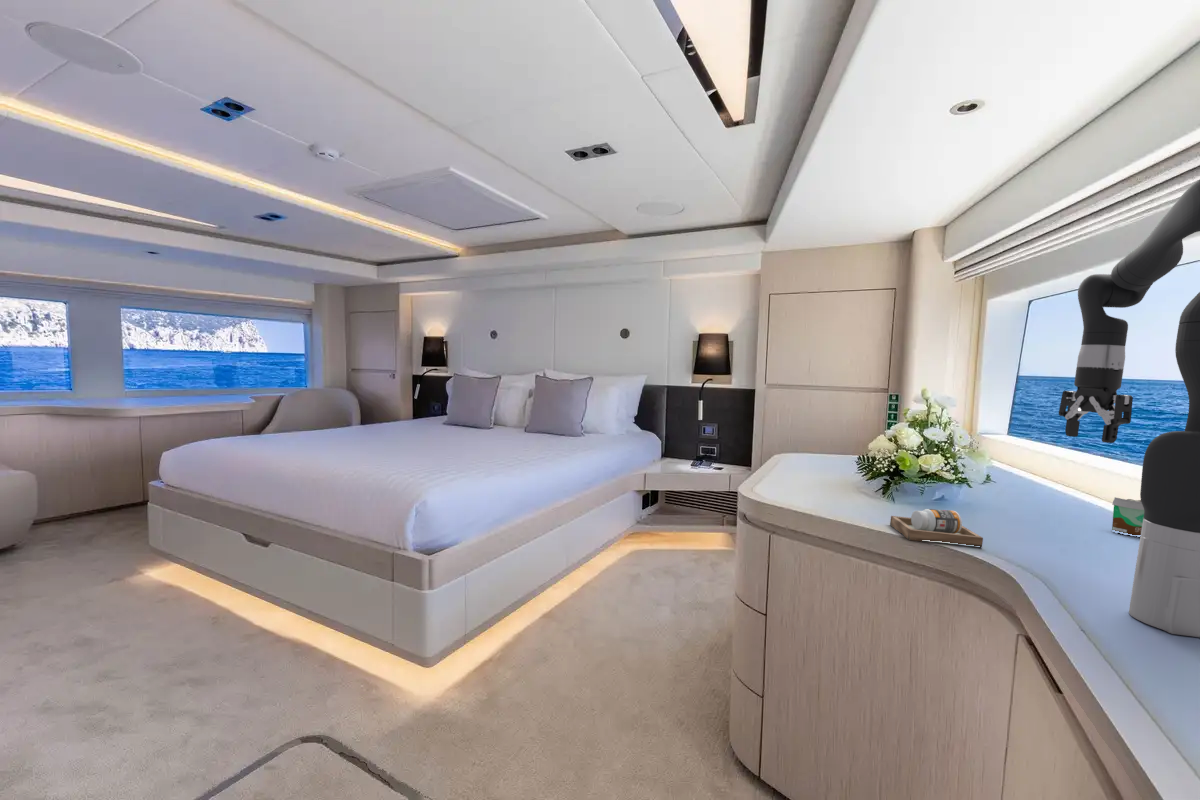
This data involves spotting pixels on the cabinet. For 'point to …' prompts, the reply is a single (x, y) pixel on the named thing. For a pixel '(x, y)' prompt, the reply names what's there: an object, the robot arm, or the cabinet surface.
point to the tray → (934, 533)
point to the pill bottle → (937, 520)
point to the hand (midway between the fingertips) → (1089, 439)
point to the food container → (1128, 516)
